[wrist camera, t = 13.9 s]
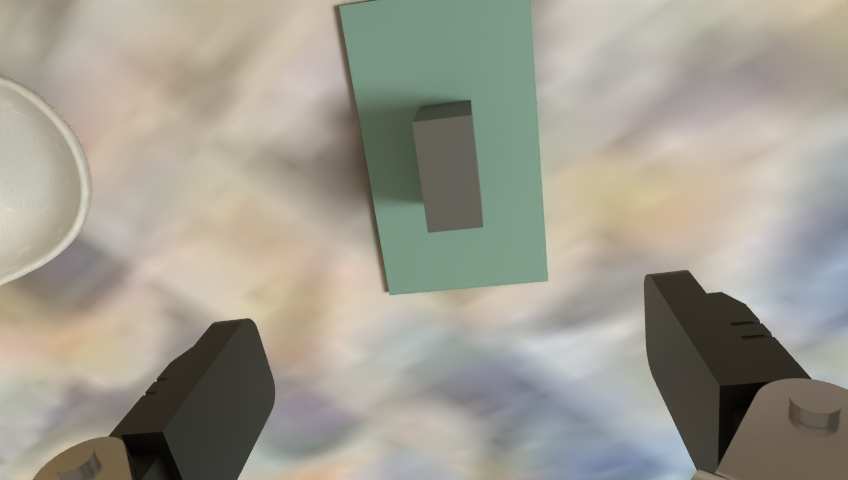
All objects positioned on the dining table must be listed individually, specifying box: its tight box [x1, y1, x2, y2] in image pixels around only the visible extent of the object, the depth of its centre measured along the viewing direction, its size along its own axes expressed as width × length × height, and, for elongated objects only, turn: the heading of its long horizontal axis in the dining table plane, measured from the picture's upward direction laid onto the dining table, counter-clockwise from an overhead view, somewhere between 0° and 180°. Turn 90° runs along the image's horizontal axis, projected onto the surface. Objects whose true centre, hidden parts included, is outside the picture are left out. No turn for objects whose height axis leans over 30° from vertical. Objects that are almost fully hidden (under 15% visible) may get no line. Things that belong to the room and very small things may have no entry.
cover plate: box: [339, 0, 548, 295], centre depth 33 cm, size 10×18×6 cm, turn 8°
